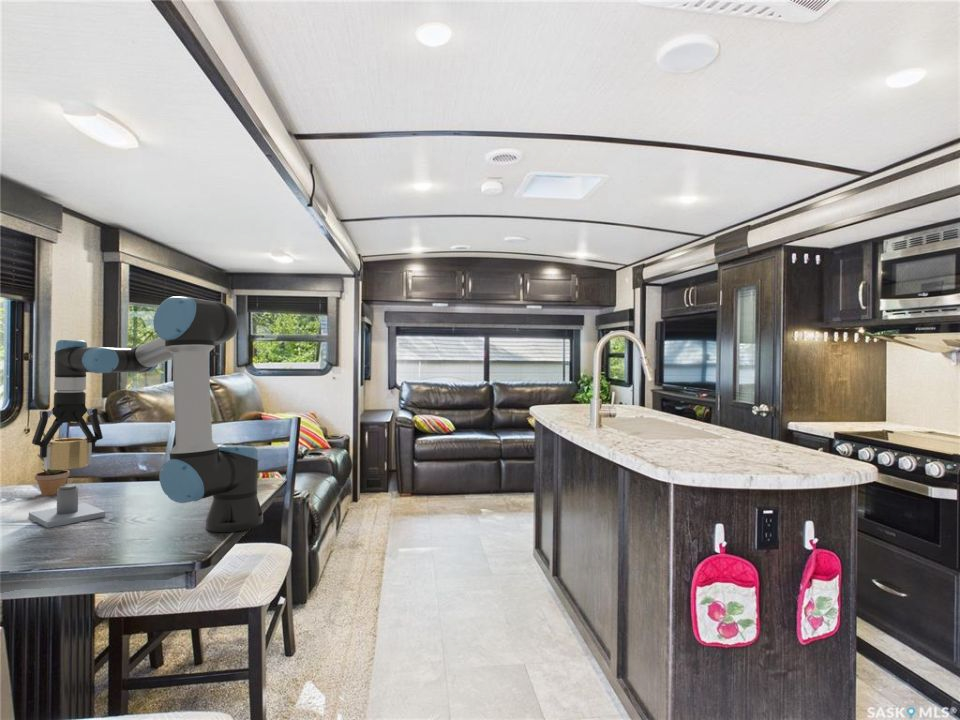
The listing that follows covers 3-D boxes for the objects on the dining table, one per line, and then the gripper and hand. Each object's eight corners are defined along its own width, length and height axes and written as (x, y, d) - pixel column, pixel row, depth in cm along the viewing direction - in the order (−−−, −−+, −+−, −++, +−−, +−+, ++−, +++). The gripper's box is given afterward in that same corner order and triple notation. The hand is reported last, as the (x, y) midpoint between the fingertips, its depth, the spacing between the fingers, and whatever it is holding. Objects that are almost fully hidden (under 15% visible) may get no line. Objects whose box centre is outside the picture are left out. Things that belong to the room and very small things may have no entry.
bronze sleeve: (92, 466, 157) (93, 439, 157) (54, 471, 150) (55, 443, 150) (80, 462, 163) (81, 436, 163) (42, 466, 155) (43, 440, 155)
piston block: (105, 516, 157) (105, 486, 157) (47, 527, 146) (48, 495, 146) (84, 507, 166) (85, 478, 166) (28, 517, 155) (29, 487, 155)
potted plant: (28, 494, 180) (29, 423, 181) (59, 488, 189) (60, 421, 189) (45, 498, 177) (46, 425, 177) (76, 492, 185) (77, 422, 185)
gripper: (107, 389, 168) (105, 459, 167) (18, 391, 149) (16, 469, 149) (117, 390, 163) (115, 462, 163) (27, 393, 145) (24, 473, 145)
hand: (68, 465), depth 156 cm, fingers closed on bronze sleeve, 9 cm apart
